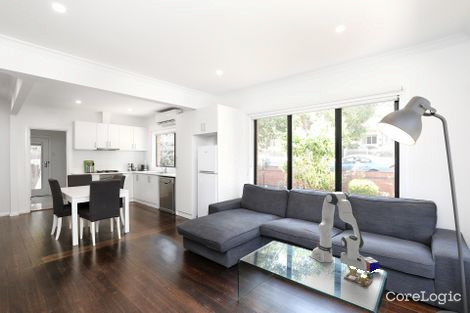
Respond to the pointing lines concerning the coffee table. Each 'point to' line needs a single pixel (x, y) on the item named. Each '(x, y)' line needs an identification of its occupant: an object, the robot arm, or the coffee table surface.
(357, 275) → the pallet board
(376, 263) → the puzzle cube
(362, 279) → the billet
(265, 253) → the coffee table surface
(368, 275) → the button housing
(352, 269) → the billet
